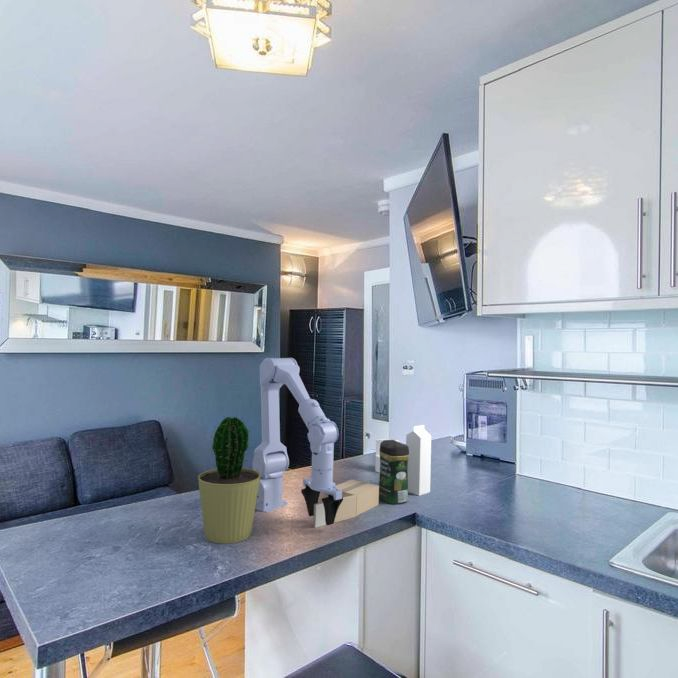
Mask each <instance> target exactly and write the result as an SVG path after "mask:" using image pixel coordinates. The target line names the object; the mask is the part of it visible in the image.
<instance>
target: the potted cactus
mask: <svg viewBox="0 0 678 678" xmlns="http://www.w3.org/2000/svg"><path fill="white" fill-rule="evenodd" d="M223 417H224V418H223V420H222V421H221V419H220V421H221V422H220V423H219V424H217V425H218V426H217V427H216V426H215V425H214V429H215V430H214V435H213V436H211V439H213V440H212V441H213V442H212V441H211V442H210V443H211V444H212V447H211V449H210V451H211V452H213V453H212V455H213V456H214V457H215V458H214V459H215V460H214V462H215V467H216V468H214V469H210V470H206V471H204V472H202V473H200V474H199V475H198V476H197V479H198V487H199V488H198V489H199V496H200V506H201V513H202V522H203V531H204V536H205V539H206V540H207V541H208V542H210V543H214V544H221V545H223V544H226V545H227V544H234V543H238V542H243V541H245V540H247V539H248V538H250V536H251V534H252V529H253V525H254V524H253V523H254V517H255V512H256V509H255V507H256V501H257V495H258V489H259V483H260V477H261V474H260V473H259V472H258V471H255V470H253V468H252V469H250V468H246V467H245V468H244V466H243V465H244V462H246V461H247V462H248V460H246V459H244V458H245V457H246V456H247V454H246V451H249V450H248V449H250V450H252V447H250V442H251V441H250V438H249V436H250V433H251V430H249V429H248V428H247V425H246V424H245V423H244V421H243V417H242V418H241V419H240V418H239V417H237V416H234V417H232V416H228V417H225V416H223ZM216 428H217V429H216Z"/></svg>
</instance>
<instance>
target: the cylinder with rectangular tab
mask: <svg viewBox="0 0 678 678" xmlns="http://www.w3.org/2000/svg"><path fill="white" fill-rule="evenodd" d="M383 440H395V441H397V442H400V439H394V438H393V439H392V438H391V439H390V438H381V437H379V438H375V460H374V461H375V462H374V463H375V465H374V466H375V467H374V471H375V472H376V473H378V472H379V473H378V474H380V453H379V451H380V444H381V442H383Z"/></svg>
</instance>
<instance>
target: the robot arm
mask: <svg viewBox="0 0 678 678" xmlns="http://www.w3.org/2000/svg"><path fill="white" fill-rule="evenodd" d="M300 370H301V369H300V366H299V365H298V362H297V360H296V359H295V358H293V357H279V358H278V357H277V358H276V357H266V358H264V359H262V362H261V363H260V364H259V386H260V407H261V409H260V410H261V412H260V414H261V443H260V444H259V445H258V446H257V447H256V448H255V449H254V451H253V459H252V463H251V466H252V470H255V471H258V472H259V473H260V474H261V477H260V483H259V489H258V495H257V501H256V507H255V511H256V510H257V511H259V512H263V513H270V512H271V511H274V510H277V509H279V508H283V507H284V506H288V505H289V502H287V501H283V480H284V479H283V478H284V477H283V476H284V475H285V473H286V472H287V470H288V468H289V466H290V459H289V455H288V451H287V446H286V445H284V444H283V443H282V442H281V431H280V430H281V426H280V425H281V422H280V396H279V393H280V389H281V388H282V387H283V386H284V385H285V386H286V387H287V388H288V390H289V391H290V393H291V394H292V396H293V397H294V399H295V400H296V402H297V403H298V405H299V406H298V410H297V412H298V413H299V415H300V417H301V419H302V421H303V423H304V424H305V426H306V428H307V430H308V432H307V440H308V442H309V444H310V446H309V448H310V451H311V474H310V475H311V476H310V477H311V478H310V477H306V478H303V480H302V481H303V482H302V486H303V487H304V488H301V490H300V491H301V494H302V496H303V499H304V501H305V505H306V510H307V513H308V516H309V517H314V504H317V503H319V499H320V494H321V493H322V494H324V495H327V497H323V498H322V497H321V503H322V502H323V505H324V509H325V522H326V525H325V526H330V525H334V524H335V523H334V520H335V517H336V513H337V510H338V508H339V506H340V504H341V503H342V501H343V497H342V491H340V490H339V489H338V488H336V487H335V486H336V482H334V454H335V453H334V451H335V448H334V447H335V443H336V442H337V440H338V439H339V436H340V435H339V434H340V433H339V428H338V426H337V423H336V422H334V421H332V420H330V418H327V417H326V414H325V413H324V411H323V409H322V408H321V407H320V403H319V402H318V401H317V400H316V399H313V398H311V397H310V395H309V393H308V391H307V389H306V387H305V385H304V382H303V381H302V378H301V376H300Z"/></svg>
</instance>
